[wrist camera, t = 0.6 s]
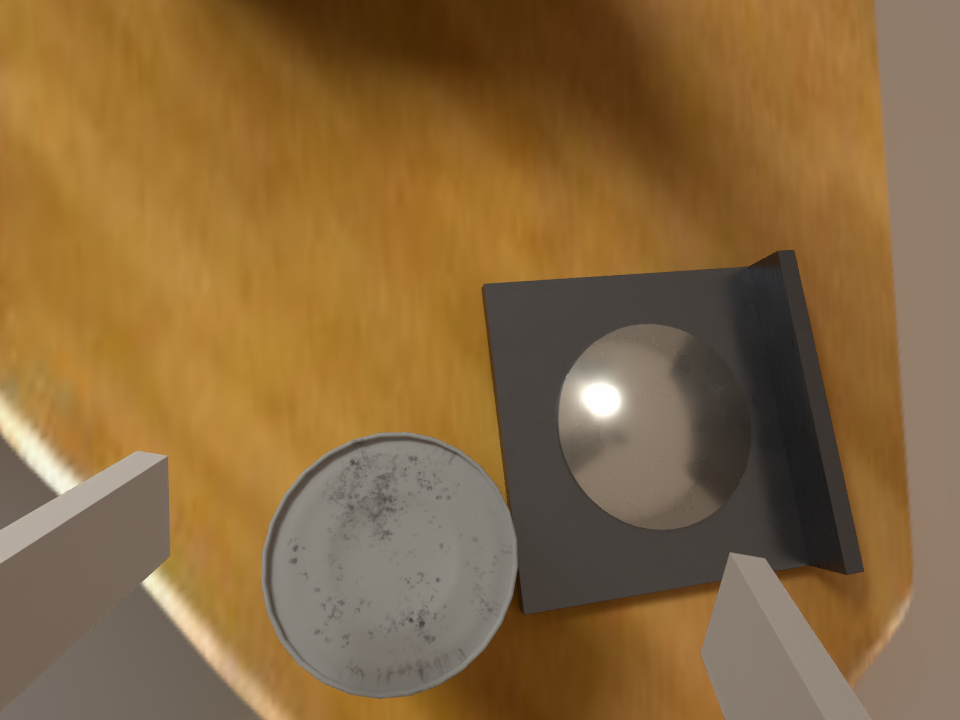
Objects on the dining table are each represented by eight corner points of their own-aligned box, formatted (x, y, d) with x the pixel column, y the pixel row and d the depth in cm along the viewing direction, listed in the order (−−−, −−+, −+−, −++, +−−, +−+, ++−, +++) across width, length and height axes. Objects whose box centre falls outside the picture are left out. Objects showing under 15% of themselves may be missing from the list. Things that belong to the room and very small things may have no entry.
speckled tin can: (492, 469, 34) (547, 474, 22) (444, 629, 32) (475, 730, 20) (343, 420, 33) (317, 399, 21) (284, 582, 31) (217, 658, 19)
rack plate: (481, 288, 36) (492, 268, 32) (754, 270, 39) (794, 249, 36) (520, 610, 33) (537, 630, 29) (813, 559, 36) (864, 571, 32)
